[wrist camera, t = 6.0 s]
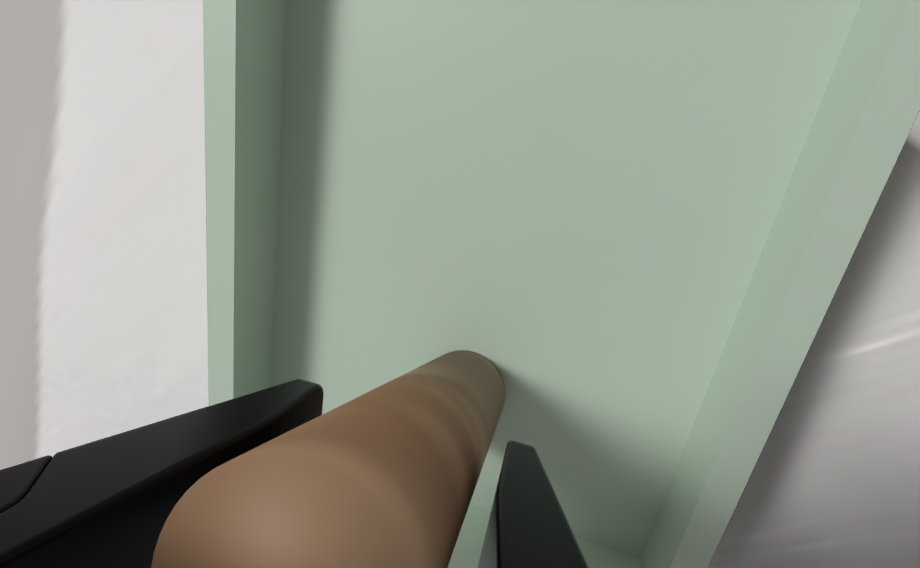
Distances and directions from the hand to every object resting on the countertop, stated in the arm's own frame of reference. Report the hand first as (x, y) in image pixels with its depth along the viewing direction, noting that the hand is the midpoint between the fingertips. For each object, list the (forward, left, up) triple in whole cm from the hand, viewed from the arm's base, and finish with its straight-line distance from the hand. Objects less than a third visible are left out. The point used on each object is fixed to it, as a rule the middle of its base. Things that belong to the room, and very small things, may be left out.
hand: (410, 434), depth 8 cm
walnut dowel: (0, +1, -1) cm, 1 cm away
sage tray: (0, -4, -7) cm, 7 cm away
